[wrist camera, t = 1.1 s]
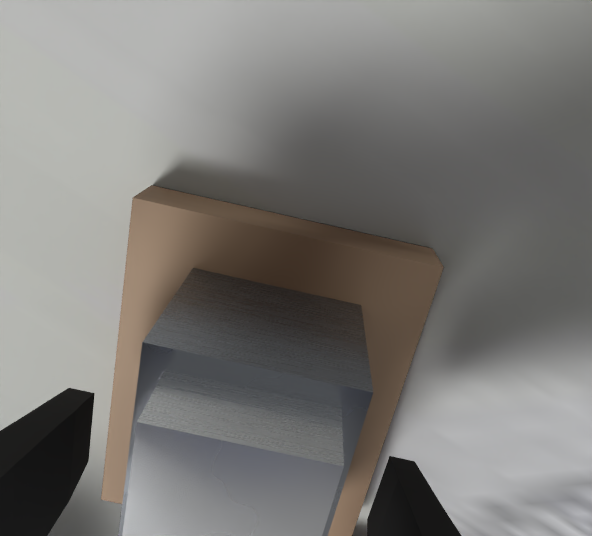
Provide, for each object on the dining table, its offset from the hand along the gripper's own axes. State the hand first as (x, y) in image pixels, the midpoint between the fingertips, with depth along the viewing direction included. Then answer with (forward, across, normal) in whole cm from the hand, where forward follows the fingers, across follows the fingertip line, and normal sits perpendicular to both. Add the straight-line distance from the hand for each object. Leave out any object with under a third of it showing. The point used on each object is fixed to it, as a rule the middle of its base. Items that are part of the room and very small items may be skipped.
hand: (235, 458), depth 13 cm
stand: (+4, 0, 0) cm, 4 cm away
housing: (+3, 0, 0) cm, 3 cm away
